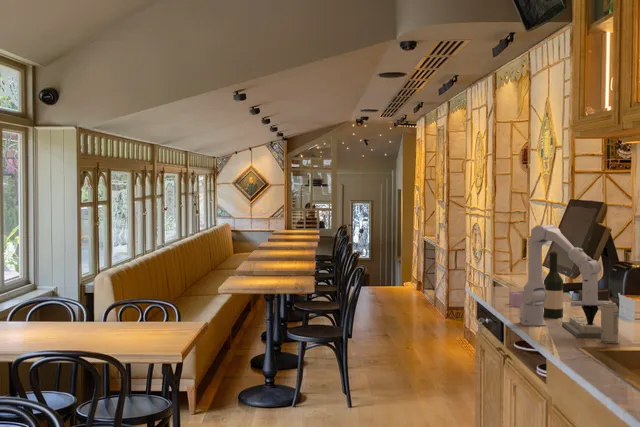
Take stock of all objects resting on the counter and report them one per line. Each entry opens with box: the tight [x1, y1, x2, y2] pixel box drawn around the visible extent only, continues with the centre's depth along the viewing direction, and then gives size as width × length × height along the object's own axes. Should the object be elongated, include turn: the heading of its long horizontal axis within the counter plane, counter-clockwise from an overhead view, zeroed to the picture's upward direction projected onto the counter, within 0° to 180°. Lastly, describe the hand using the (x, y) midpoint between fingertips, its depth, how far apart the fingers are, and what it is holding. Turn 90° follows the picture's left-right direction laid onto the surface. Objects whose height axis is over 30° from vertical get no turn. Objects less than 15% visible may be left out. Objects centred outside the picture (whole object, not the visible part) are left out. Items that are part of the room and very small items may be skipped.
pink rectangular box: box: [508, 289, 544, 309], centre depth 332 cm, size 20×12×7 cm, turn 82°
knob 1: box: [574, 316, 585, 319], centre depth 282 cm, size 4×4×3 cm
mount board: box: [561, 316, 601, 339], centre depth 275 cm, size 12×22×4 cm, turn 175°
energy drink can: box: [600, 301, 619, 344], centre depth 257 cm, size 6×6×15 cm
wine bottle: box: [543, 250, 564, 319], centre depth 305 cm, size 8×8×30 cm
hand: (589, 324), depth 268 cm, fingers closed, pressing on knob 2
